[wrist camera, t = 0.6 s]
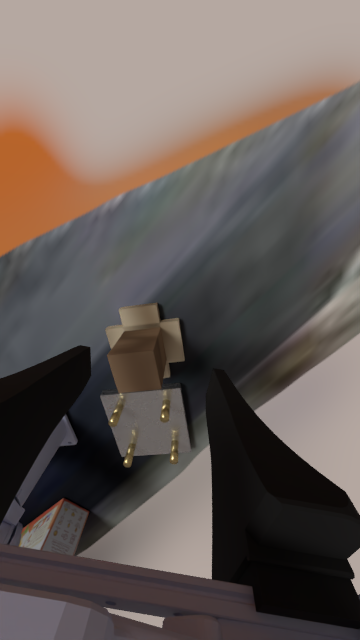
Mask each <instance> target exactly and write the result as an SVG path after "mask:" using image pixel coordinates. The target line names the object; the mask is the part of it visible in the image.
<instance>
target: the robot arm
mask: <svg viewBox="0 0 360 640" xmlns="http://www.w3.org/2000/svg"><path fill="white" fill-rule="evenodd" d="M90 376H91V356H90V347H86V346H81V345H80V346H77V347H75V348H72V349H70V350H68V351H66V352H64V353H61V354H59V355H57V356H55V357H53V358H51V359H48V360H46V361H44V362H42V363H39V364H37V365H35V366H32V367H30V368H27V369H25V370H23V371H20V372H18V373H15V374H12V375H9V376H7V377H4V378H1V379H0V640H360V594H359V595H357V593H356V590H355V589H354V586H353V584H352V582H351V579H353V578H354V572H353V570H352V568H351V566H350V564H349V562H348V560H347V558H349V557H350V556H351V555H352V554H353V553H354V552H356V551H357V550H358V549H359V548H360V515H359V513H358V512H357V510H356V508H355V507H354V505H353V503H352V502H351V500H350V498H349V497H348V495H347V494H346V492H345V491H344V490H342V489H341V488H340V487H338V486H337V485H336V484H334V483H333V482H331V481H330V480H329V479H327V478H326V477H325V476H323V475H322V474H321V473H319V472H318V471H317V470H315V469H314V468H313V467H311V466H310V465H309V464H308V463H307V462H306V461H304V460H303V459H302V458H301V457H299V456H298V455H297V454H296V453H295V452H294V451H292V450H291V449H290V448H289V447H288V446H287V445H286V444H284V443H283V442H282V440H280V439H279V438H278V437H277V436H276V435H275V434H274V433H273V432H272V431H271V430H270V429H269V428H268V427H267V426H266V425H265V424H264V422H263V421H262V420H261V419H260V418H259V417H258V416H257V415H256V414H255V412H254V411H253V410H252V409H251V408H250V406H249V405H248V404H247V403H246V401H245V400H244V399H243V397H242V396H241V395H240V393H239V392H238V390H237V389H236V388H235V386H234V385H233V383H232V382H231V380H230V379H229V377H228V376H227V374H226V373H225V371H224V370H220V369H214V368H213V372H212V375H211V379H210V382H209V386H208V390H207V393H206V418H207V427H208V435H209V444H210V452H211V464H212V466H211V467H212V533H213V534H212V579H206V578H200V577H194V576H188V575H183V574H177V573H171V572H165V571H159V570H153V569H148V568H142V567H136V566H130V565H124V564H118V563H113V562H107V561H101V560H95V559H90V558H84V557H78V556H72V555H66V554H60V553H55V552H49V551H43V550H37V549H31V548H26V547H20V546H19V544H20V541H21V532H22V524H21V523H19V522H18V521H19V519H20V518H21V516H22V514H23V513H24V511H25V509H24V508H22V505H23V504H24V502H25V500H26V499H27V497H28V496H29V494H30V492H31V491H32V489H33V488H34V486H35V484H36V483H37V481H38V480H39V478H40V476H41V475H42V473H43V472H44V470H45V469H46V467H47V465H48V464H49V462H50V461H51V459H52V457H53V456H54V454H55V453H56V451H57V449H58V448H59V446H66V445H76V444H77V442H78V440H77V438H76V435H75V433H74V431H73V429H72V426H71V424H70V422H69V420H68V418H67V415H66V413H67V412H68V410H69V409H70V408H71V406H72V405H73V403H74V402H75V401H76V399H77V398H78V397H79V395H80V394H81V392H82V391H83V389H84V388H85V386H86V384H87V382H88V380H89V378H90ZM104 607H106V608H112V609H118V610H124V611H130V612H135V613H141V614H147V615H153V616H159V617H165V619H164V621H163V627H162V628H160V627H156V626H152V625H149V624H146V623H142V622H138V621H135V620H132V619H128V618H125V617H121V616H118V615H115V614H111V613H109V612H108V610H107V609H106V608H104Z"/></svg>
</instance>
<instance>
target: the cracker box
mask: <svg viewBox="0 0 360 640" xmlns="http://www.w3.org/2000/svg"><path fill="white" fill-rule="evenodd" d="M88 515H89V511H88V510H86V509H84V508H82V507H80V506H78V505H76V504H74V503H73V502H71V501H69V500H67V499H65V498H63V499H61V500H60V501H59V502H57V503H56V504H55V505H53V506H52V507H51V508H49V509H48V510H47V511H46V512H44V513H43V514H42V515H40V516H39V517H38V518H36V519H35V520H34V521H32V522H31V523H30V524H28V525H27V526H26V527H24V528H23V530H22V532H21V541H20V544H19V546H20V547H26V548H31V549H37V550H43V551H49V552H55V553H60V554H66V555H72V556H74V555H75V552H76V549H77V546H78V543H79V540H80V537H81V534H82V532H83V529H84V526H85V523H86V520H87V517H88Z"/></svg>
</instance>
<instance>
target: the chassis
mask: <svg viewBox="0 0 360 640" xmlns="http://www.w3.org/2000/svg"><path fill="white" fill-rule="evenodd" d="M100 397H101V400H102V403H103V406H104V409H105V411H106V414H107V417H108V420H109V423H108V424H109V425H110V426H111V428H112V431H113V434H114V437H115V439H116V442H117V445H118V448H119V451H120V454H121V456H122V457H125V459H124V463H123V465H124V466H125V467H130V466H131V463H132V459H133V456H140V455H154V454H168V453H170V463H171V464H177V463H178V453H182V452H191V442H190V436H189V430H188V424H187V418H186V412H185V406H184V401H183V395H182V389H181V383H172V384H162V389H158V390H148V391H137V392H126V393H118V390H117V389H111V390H103V391H102V393H101V395H100Z"/></svg>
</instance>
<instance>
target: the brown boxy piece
mask: <svg viewBox="0 0 360 640" xmlns="http://www.w3.org/2000/svg"><path fill="white" fill-rule="evenodd" d="M119 313H120V317H121V321H122V324H123V325H116V326H108V327H107V328H106V329H105V330H106V333H107V337H108V340H109V343H110V347H111V351H110V352H109V353H108V355H107V357H108V360H109V364H110V367H111V370H112V373H113V377H114V380H115V383H116V386H117V390H118V393H126V392H137V391H148V390H158V389H162V383H163V378H168V377H170V368H169V363H172V362H181V361H185V357H184V350H183V343H182V337H181V330H180V323H179V318H174V319H165V320H161V319H160V314H159V308H158V303H151V304H143V305H135V306H127V307H121V308H120V309H119Z"/></svg>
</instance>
